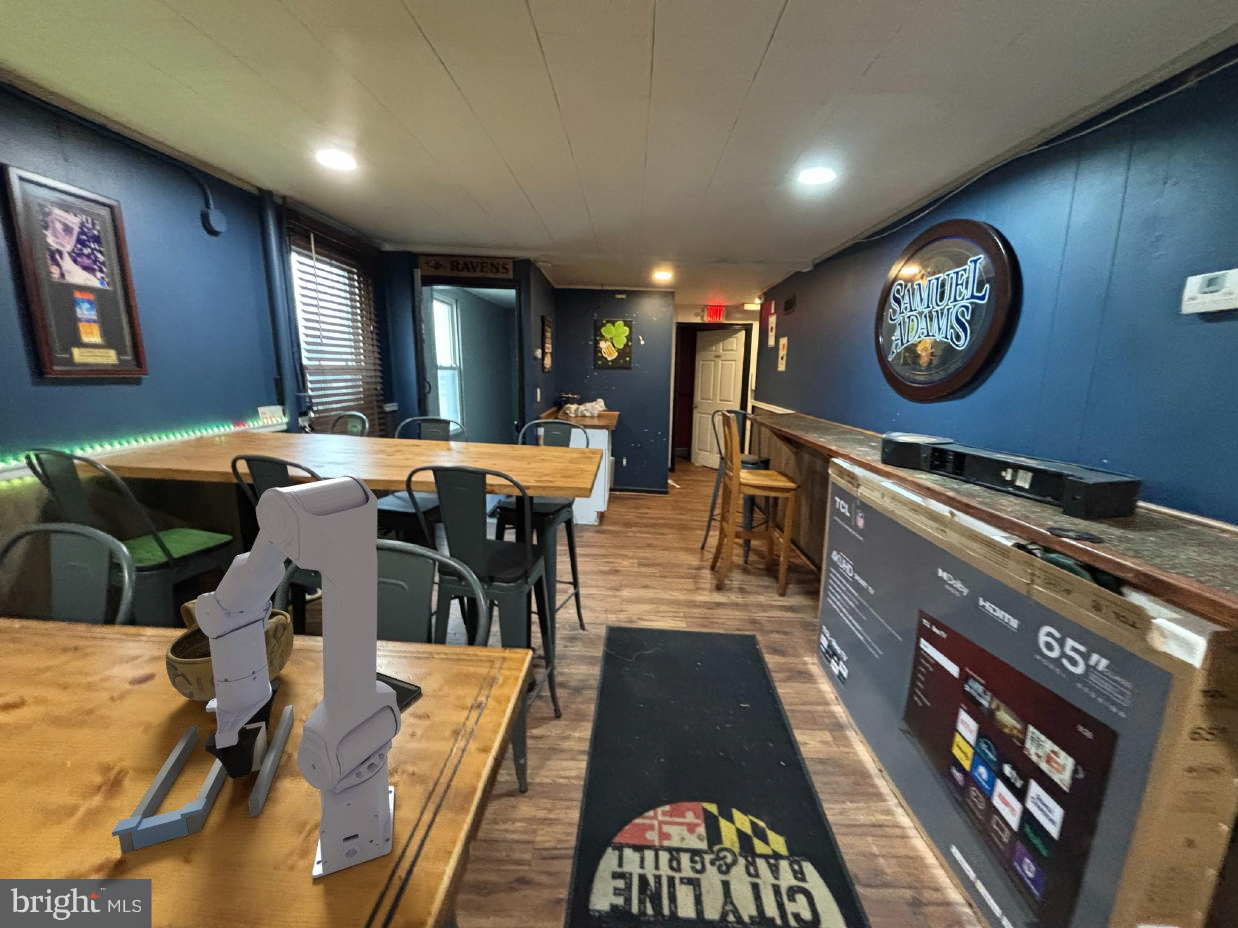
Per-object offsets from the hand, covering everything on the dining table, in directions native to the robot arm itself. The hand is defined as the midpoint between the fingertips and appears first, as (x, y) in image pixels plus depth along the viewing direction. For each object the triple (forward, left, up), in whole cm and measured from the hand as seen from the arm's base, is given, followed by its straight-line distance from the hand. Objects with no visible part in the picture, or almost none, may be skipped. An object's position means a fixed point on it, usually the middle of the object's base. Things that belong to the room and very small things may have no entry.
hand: (250, 753), depth 65 cm
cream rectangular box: (0, 0, -2) cm, 2 cm away
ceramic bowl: (+20, +7, -2) cm, 21 cm away
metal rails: (-1, +3, -1) cm, 3 cm away
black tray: (+10, -15, -2) cm, 18 cm away
